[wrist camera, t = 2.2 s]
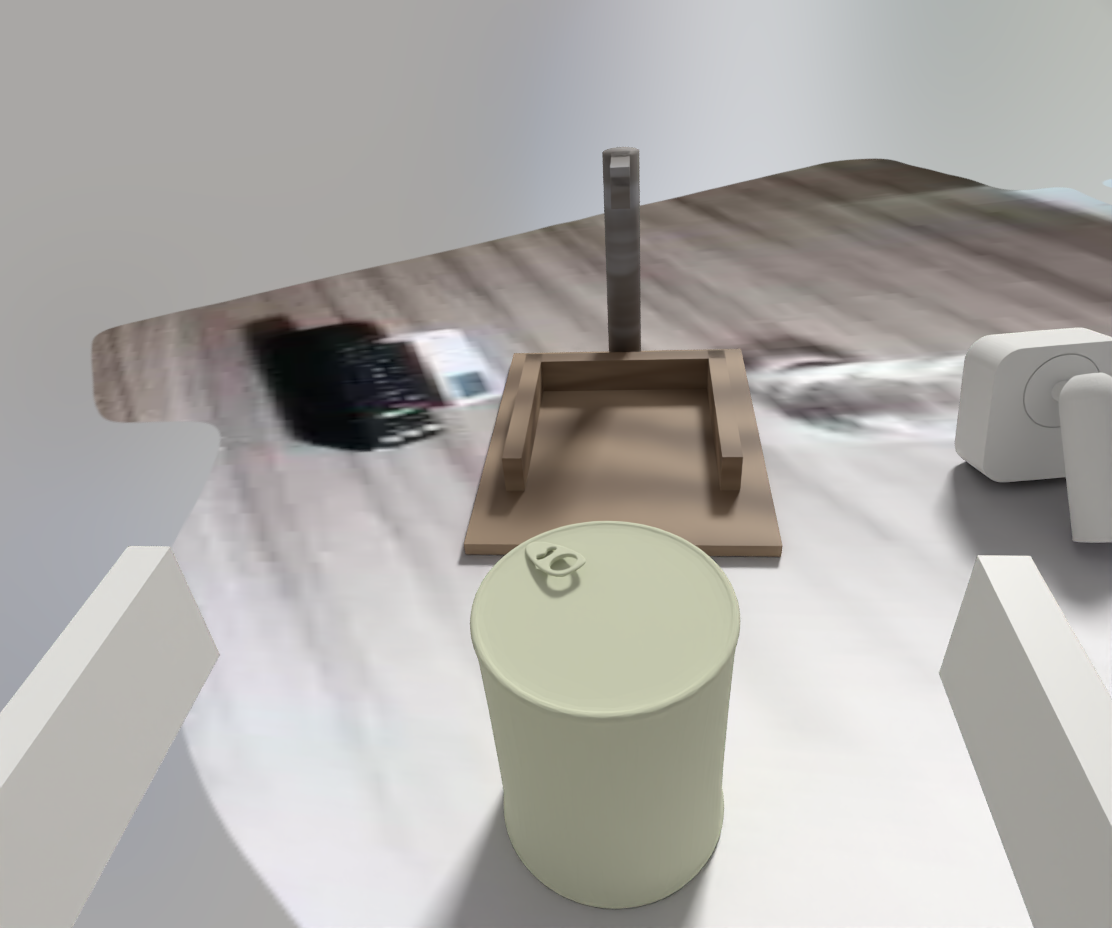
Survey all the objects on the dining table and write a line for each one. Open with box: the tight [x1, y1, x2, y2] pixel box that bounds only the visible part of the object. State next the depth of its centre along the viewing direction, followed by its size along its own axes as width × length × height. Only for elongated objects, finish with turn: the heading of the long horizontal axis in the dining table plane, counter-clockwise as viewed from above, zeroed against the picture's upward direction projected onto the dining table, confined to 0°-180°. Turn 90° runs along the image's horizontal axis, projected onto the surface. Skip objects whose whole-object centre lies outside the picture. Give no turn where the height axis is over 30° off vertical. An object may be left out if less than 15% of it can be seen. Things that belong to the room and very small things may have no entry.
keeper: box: [464, 147, 782, 557], centre depth 50 cm, size 23×18×17 cm
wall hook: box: [955, 328, 1112, 543], centre depth 45 cm, size 8×10×10 cm
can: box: [470, 521, 740, 909], centre depth 31 cm, size 9×9×12 cm
